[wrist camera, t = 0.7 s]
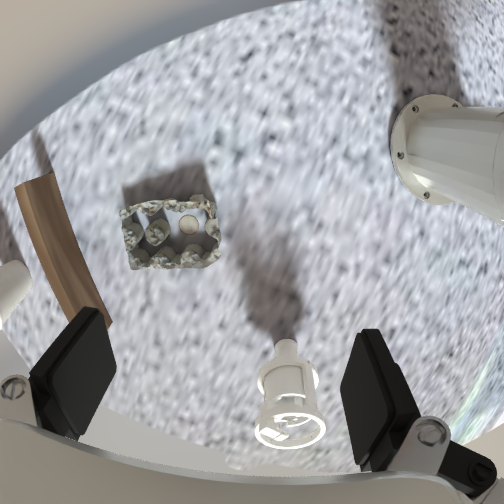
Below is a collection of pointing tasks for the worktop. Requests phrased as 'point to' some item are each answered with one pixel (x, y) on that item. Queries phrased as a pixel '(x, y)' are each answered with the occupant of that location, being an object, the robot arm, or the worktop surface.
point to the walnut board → (58, 246)
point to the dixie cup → (13, 287)
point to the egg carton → (161, 230)
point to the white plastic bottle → (288, 398)
